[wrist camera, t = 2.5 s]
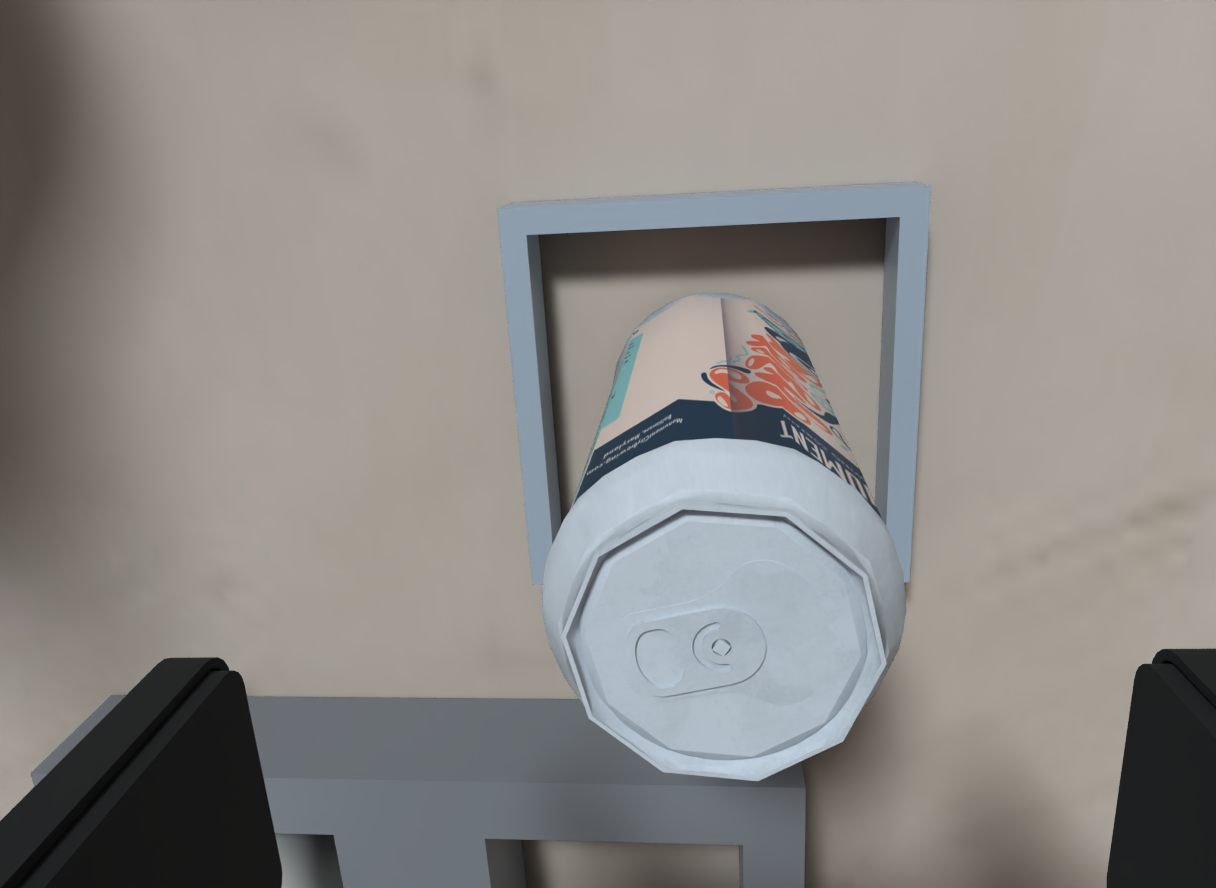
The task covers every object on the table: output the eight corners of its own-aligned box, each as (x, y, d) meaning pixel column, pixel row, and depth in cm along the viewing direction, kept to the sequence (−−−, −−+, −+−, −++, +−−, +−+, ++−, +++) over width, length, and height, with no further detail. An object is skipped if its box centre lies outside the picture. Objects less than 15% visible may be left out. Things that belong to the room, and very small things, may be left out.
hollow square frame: (915, 181, 20) (931, 185, 19) (896, 554, 23) (909, 582, 22) (510, 202, 21) (497, 208, 20) (542, 558, 24) (532, 584, 23)
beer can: (829, 453, 23) (954, 778, 11) (643, 495, 24) (590, 836, 12) (787, 265, 21) (882, 423, 10) (592, 317, 22) (477, 516, 11)
